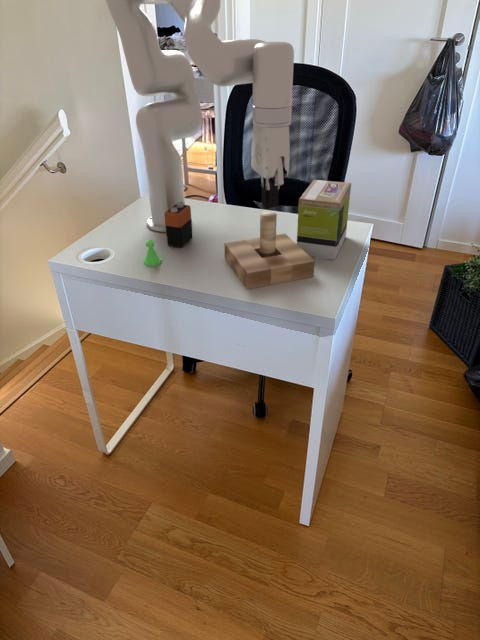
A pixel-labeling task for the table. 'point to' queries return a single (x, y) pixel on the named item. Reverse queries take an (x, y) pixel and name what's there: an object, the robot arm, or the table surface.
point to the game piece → (151, 255)
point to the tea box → (323, 218)
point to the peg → (267, 234)
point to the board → (268, 262)
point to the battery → (178, 225)
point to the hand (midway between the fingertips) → (269, 206)
